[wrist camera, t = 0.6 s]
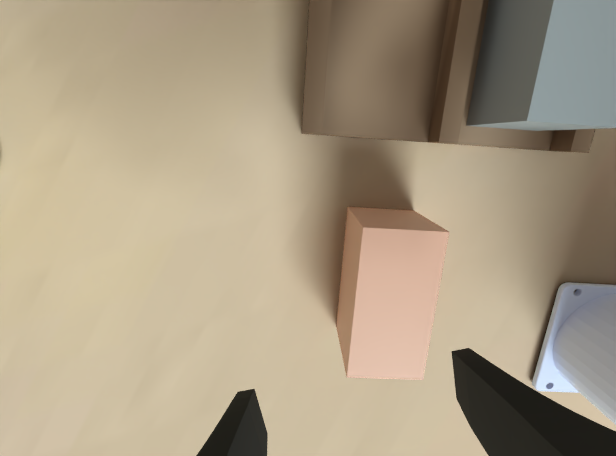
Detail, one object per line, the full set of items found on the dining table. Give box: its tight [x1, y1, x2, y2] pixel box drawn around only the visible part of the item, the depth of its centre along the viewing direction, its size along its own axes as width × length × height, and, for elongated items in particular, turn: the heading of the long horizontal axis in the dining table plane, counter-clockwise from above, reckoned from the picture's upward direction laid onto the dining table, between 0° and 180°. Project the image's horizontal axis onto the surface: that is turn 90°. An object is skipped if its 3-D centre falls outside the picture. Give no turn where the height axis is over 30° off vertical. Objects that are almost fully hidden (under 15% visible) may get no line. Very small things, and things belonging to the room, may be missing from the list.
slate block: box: [466, 0, 616, 131], centre depth 15 cm, size 4×8×5 cm, turn 176°
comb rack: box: [302, 0, 595, 153], centre depth 17 cm, size 15×10×2 cm, turn 86°
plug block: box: [336, 207, 449, 380], centre depth 19 cm, size 4×8×5 cm, turn 176°
